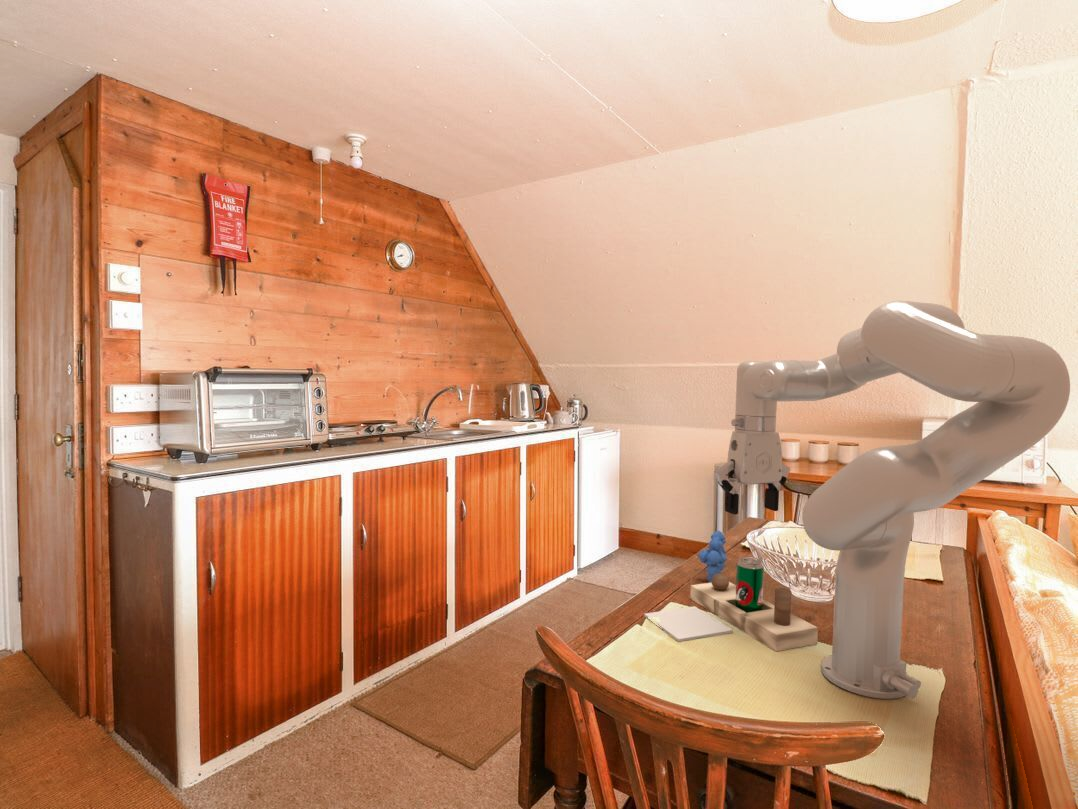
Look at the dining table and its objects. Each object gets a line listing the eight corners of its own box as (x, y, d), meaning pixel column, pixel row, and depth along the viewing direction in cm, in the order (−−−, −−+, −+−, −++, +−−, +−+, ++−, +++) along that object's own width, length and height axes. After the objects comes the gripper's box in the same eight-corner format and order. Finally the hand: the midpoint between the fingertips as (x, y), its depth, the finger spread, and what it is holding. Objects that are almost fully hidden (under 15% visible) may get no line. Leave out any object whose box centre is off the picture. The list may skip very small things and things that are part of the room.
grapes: (701, 572, 146) (702, 524, 146) (729, 576, 143) (731, 527, 143) (692, 587, 136) (693, 535, 135) (723, 592, 133) (724, 539, 132)
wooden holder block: (817, 643, 108) (819, 595, 108) (776, 651, 105) (778, 601, 105) (726, 593, 132) (727, 553, 132) (690, 598, 129) (691, 557, 129)
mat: (732, 632, 113) (732, 630, 112) (678, 641, 108) (678, 639, 108) (694, 608, 124) (694, 606, 124) (644, 616, 119) (644, 613, 119)
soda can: (763, 625, 116) (766, 565, 115) (736, 623, 117) (738, 563, 116) (759, 615, 121) (761, 557, 120) (733, 613, 122) (735, 555, 121)
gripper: (731, 427, 110) (727, 519, 111) (804, 425, 116) (800, 512, 117) (706, 423, 117) (703, 509, 118) (776, 422, 123) (772, 504, 124)
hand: (751, 511), depth 118 cm, fingers open, 9 cm apart
